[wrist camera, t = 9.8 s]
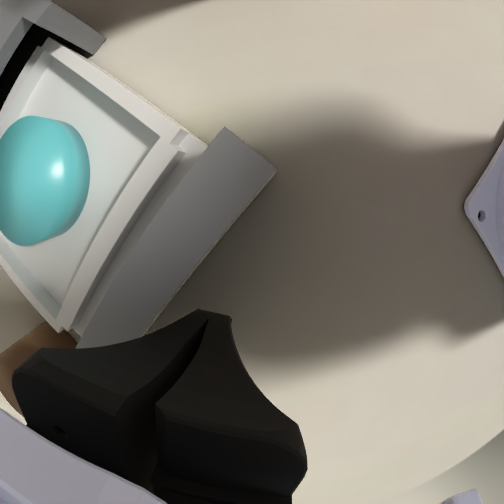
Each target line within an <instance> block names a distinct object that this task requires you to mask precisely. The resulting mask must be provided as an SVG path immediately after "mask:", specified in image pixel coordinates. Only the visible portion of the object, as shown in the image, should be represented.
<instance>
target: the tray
mask: <svg viewBox="0 0 504 504" xmlns="http://www.w3.org/2000/svg"><path fill="white" fill-rule="evenodd" d="M25 116H39V117H44V118H49V119H54V120H59V121H63V122H66V123H68V124H70V125H72V126H73V127H74V128H75V129H76V130H77V131H78V132H79V133H80V135H81V137H82V138H83V140H84V143H85V145H86V148H87V152H88V156H89V162H90V184H89V191H88V196H87V199H86V203H85V205H84V208H83V210H82V212H81V214H80V216H79V218H78V219H77V221H76V223H75V224H74V225H73V226H72V227H71V228H70V229H69V230H68V231H67V232H65V233H64V234H62V235H59V236H57V237H54V238H50V239H47V240H44V241H41V242H38V243H35V244H32V245H29V246H20V245H16V244H14V243H12V242H11V241H10V240H8V239H7V238H6V237H5V236H4V235H3V233H2V232H1V231H0V265H1V266H2V268H3V269H4V271H5V272H6V273H7V275H8V276H9V277H10V279H11V280H12V281H13V282H14V284H15V285H16V286H17V287H18V289H19V290H20V291H21V292H22V294H23V295H24V296H25V297H26V298H27V300H28V301H29V302H30V303H31V304H32V305H33V307H34V308H35V309H36V310H37V311H38V312H39V313H40V314H41V316H42V317H43V318H44V319H45V320H46V321H47V322H48V323H49V324H50V325H51V326H52V327H53V328H54V329H55V330H56V331H57V332H58V333H60V332H61V331H62V330H63V329H65V330H66V331H67V332H68V331H70V330H71V329H73V330H74V331H75V332H76V333H77V334H78V335H79V336H80V337H81V339H80V341H79V342H78V344H77V346H76V348H75V349H79V348H92V347H101V346H107V345H112V344H117V343H122V342H126V341H130V340H133V339H136V338H140V337H142V336H144V334H145V333H146V332H147V330H148V329H149V328H150V326H151V325H152V324H153V323H154V321H155V320H156V319H157V317H158V316H159V315H160V314H161V312H162V311H163V310H164V308H165V307H166V306H167V305H168V303H169V302H170V301H171V300H172V298H173V297H174V296H175V295H176V293H177V292H178V291H179V289H180V288H181V287H182V286H183V284H184V283H185V282H186V281H187V279H188V278H189V277H190V276H191V274H192V273H193V272H194V271H195V270H196V268H197V267H198V266H199V265H200V263H201V262H202V261H203V260H204V258H205V257H206V256H207V255H208V254H209V252H210V251H211V250H212V249H213V247H214V246H215V245H216V244H217V243H218V241H219V240H220V239H221V238H222V237H223V235H224V234H225V233H226V232H227V230H228V229H229V228H230V227H231V226H232V224H233V223H234V222H235V221H236V220H237V219H238V217H239V216H240V215H241V214H242V213H243V211H244V210H245V209H246V208H247V207H248V205H249V204H250V203H251V202H252V201H253V200H254V198H255V197H256V196H257V195H258V194H259V193H260V191H261V190H262V189H263V188H264V187H265V186H266V184H267V183H268V182H269V181H270V180H271V179H272V177H273V176H274V175H275V174H276V172H277V168H276V167H275V166H273V165H272V164H271V163H270V162H269V161H267V160H266V159H265V158H264V157H263V156H261V155H260V154H259V153H258V152H256V151H255V150H254V149H253V148H251V147H250V146H249V145H248V144H246V143H245V142H244V141H243V140H241V139H240V138H239V137H238V136H236V135H235V134H234V133H232V132H231V131H230V130H228V129H227V128H226V127H224V128H223V129H222V130H221V131H220V133H219V134H218V135H217V136H216V137H215V139H214V140H213V141H212V142H211V143H210V145H209V146H207V145H206V144H205V143H204V142H202V141H201V140H200V139H198V138H197V137H196V136H194V135H193V134H192V133H191V132H189V131H188V130H187V129H185V128H184V127H183V126H181V125H180V124H179V123H177V122H176V121H175V120H173V119H172V118H171V117H169V116H168V115H167V114H165V113H164V112H163V111H161V110H160V109H159V108H157V107H156V106H155V105H153V104H152V103H150V102H149V101H148V100H146V99H145V98H143V97H142V96H141V95H139V94H138V93H136V92H135V91H134V90H132V89H131V88H129V87H128V86H127V85H125V84H124V83H122V82H121V81H119V80H118V79H116V78H115V77H114V76H112V75H111V74H109V73H108V72H106V71H105V70H103V69H102V68H100V67H99V66H97V65H96V64H94V63H93V62H91V61H90V60H88V59H87V58H85V57H83V56H82V55H80V54H79V53H77V52H76V51H74V50H73V49H71V48H69V47H68V46H66V45H64V44H62V43H61V42H59V41H57V40H54V39H52V38H50V37H48V38H47V40H46V41H45V43H44V44H43V46H42V47H40V46H37V47H36V49H35V50H34V52H33V54H32V55H31V57H30V58H29V60H28V61H27V63H26V65H25V66H24V68H23V70H22V71H21V73H20V75H19V76H18V78H17V80H16V82H15V84H14V85H13V87H12V89H11V91H10V93H9V95H8V97H7V99H6V101H5V103H4V105H3V107H2V109H1V111H0V139H1V137H2V136H3V134H4V133H5V131H6V130H7V129H8V128H9V127H10V126H11V125H12V124H13V123H14V122H15V121H17V120H18V119H20V118H22V117H25Z"/></svg>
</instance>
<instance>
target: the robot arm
mask: <svg viewBox="0 0 504 504" xmlns="http://www.w3.org/2000/svg"><path fill="white" fill-rule="evenodd" d="M464 210H465V213H466V215H467V217H468V218H469V220H470V221H471V223H472V224H473V226H474V227H475V229H476V231H477V232H478V234H479V235H480V237H481V238H482V240H483V242H484V243H485V245H486V247H487V248H488V250H489V252H490V254H491V255H492V257H493V259H494V261H495V262H496V264H497V266H498V268H499V270H500V272H501V274H502V276H503V277H504V139H503V141H502V143H501V145H500V146H499V148H498V150H497V152H496V153H495V155H494V157H493V158H492V160H491V162H490V163H489V165H488V167H487V168H486V170H485V172H484V173H483V175H482V176H481V178H480V179H479V181H478V182H477V184H476V185H475V187H474V188H473V190H472V191H471V193H470V194H469V196H468V197H467V199H466V201H465V204H464ZM479 211H480V213H481V215H480V219H479V220H478V213H479ZM231 322H232V319H231V317H230V316H227V315H222V314H218V313H213V312H209V311H205V310H200V309H197V310H195V311H193V312H191V313H190V314H188V315H186V316H185V317H183V318H181V319H179V320H177V321H176V322H174V323H172V324H170V325H168V326H166V327H164V328H161V329H159V330H157V331H155V332H153V333H150V334H148V335H145V336H142V337H140V338H136V339H133V340H130V341H126V342H122V343H117V344H112V345H107V346H101V347H92V348H79V349H61V348H43V347H41V348H40V349H39V350H38V351H36V352H35V353H34V354H33V355H32V356H30V357H29V358H28V359H27V360H26V361H24V362H23V363H22V364H21V365H20V366H19V367H17V368H16V369H15V370H14V372H13V374H12V388H13V391H14V394H15V397H16V400H17V402H18V404H19V407H20V409H21V411H22V414H23V416H24V418H25V420H26V422H27V425H26V426H25V425H24V424H23V423H21V422H20V421H18V420H17V419H16V418H14V417H13V416H11V415H10V414H9V413H7V412H6V411H4V410H3V409H1V408H0V504H292V494H293V492H294V491H295V490H296V488H297V487H298V485H299V484H300V482H301V481H302V480H303V478H304V477H305V474H306V472H307V469H308V468H307V455H306V450H305V446H304V442H303V438H302V435H301V432H300V429H299V426H298V424H297V423H295V422H294V421H293V420H292V419H290V418H289V417H288V416H286V415H285V414H284V413H282V412H281V411H280V410H279V409H277V408H276V407H275V406H274V405H273V404H272V403H271V402H270V401H269V400H268V399H267V398H266V397H265V396H264V394H263V393H262V392H261V391H260V390H259V388H258V387H257V386H256V385H255V383H254V382H253V380H252V379H251V377H250V376H249V374H248V372H247V371H246V369H245V367H244V365H243V363H242V361H241V359H240V356H239V354H238V351H237V349H236V346H235V342H234V339H233V335H232V329H231ZM440 504H483V502H482V500H481V497H480V495H479V493H478V491H477V489H472V490H469V491H466V492H463V493H460V494H457V495H454V496H452V497H450V498H448V499H446V500H444V501H443V502H441V503H440Z"/></svg>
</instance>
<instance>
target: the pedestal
mask: <svg viewBox="0 0 504 504" xmlns="http://www.w3.org/2000/svg"><path fill="white" fill-rule="evenodd" d="M76 346H77V343H76V342H75V341H74V339H73V338H72V337H71V336H70V335H69V334H68V333H67V332H66V331H65V330H64V329H63V330H62V331H61V332H60V333H58V332H57V331H56V330H55V329H54V328H53V327H52V326H51V325H50V324H49V323H48V322H45V323H42V324H41V325H39V326H38V327H36V328H35V329H34V330H32V331H31V332H30V333H28V334H27V335H25V336H24V337H23V338H21V339H20V340H19V341H17V342H16V343H15V344H13V345H12V346H11V347H9V348H8V349H7V350H5V351H4V352H3V353H1V354H0V391H1V393H2V394H3V396H4V397H5V398H6V400H7V401H8V402H9V403H10V405H11V406H12V407H13V408H14V409H15V410H16V411H17V412H18V413H19V414H21V415H22V416H23V414H22V411H21V409H20V407H19V404H18V402H17V400H16V397H15V394H14V391H13V388H12V374H13V372H14V370H15V369H16V368H17V367H19V366H20V365H21V364H22V363H23V362H24V361H26V360H27V359H28V358H29V357H30V356H32V355H33V354H34V353H35V352H36V351H38V350H39V349H40V348H41V347H43V348H61V349H75V348H76ZM23 417H24V416H23Z"/></svg>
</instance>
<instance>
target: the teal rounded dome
mask: <svg viewBox="0 0 504 504" xmlns="http://www.w3.org/2000/svg"><path fill="white" fill-rule="evenodd" d="M89 184H90V162H89V156H88V152H87V148H86V145H85V143H84V140H83V138H82V137H81V135H80V133H79V132H78V131H77V130H76V129H75V128H74V127H73V126H72V125H70V124H68V123H66V122H63V121H59V120H54V119H49V118H44V117H39V116H25V117H22V118H20V119H18V120H17V121H15V122H14V123H13V124H12V125H11V126H10V127H9V128H8V129H7V130H6V131H5V133H4V134H3V136H2V137H1V139H0V231H1V232H2V233H3V235H4V236H5V237H6V238H7V239H8V240H10V241H11V242H12V243H14V244H16V245H20V246H29V245H32V244H35V243H38V242H41V241H44V240H47V239H50V238H54V237H57V236H59V235H62V234H64V233H65V232H67V231H68V230H69V229H70V228H71V227H72V226H73V225H74V224H75V223H76V221H77V219H78V218H79V216H80V214H81V212H82V210H83V208H84V205H85V203H86V199H87V196H88V191H89Z"/></svg>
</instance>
